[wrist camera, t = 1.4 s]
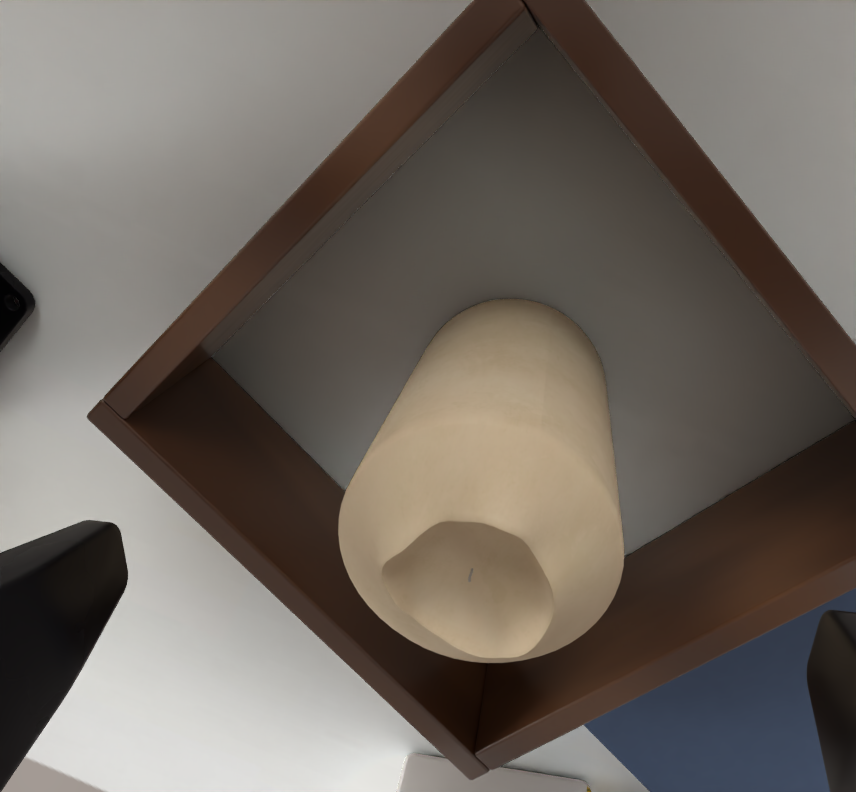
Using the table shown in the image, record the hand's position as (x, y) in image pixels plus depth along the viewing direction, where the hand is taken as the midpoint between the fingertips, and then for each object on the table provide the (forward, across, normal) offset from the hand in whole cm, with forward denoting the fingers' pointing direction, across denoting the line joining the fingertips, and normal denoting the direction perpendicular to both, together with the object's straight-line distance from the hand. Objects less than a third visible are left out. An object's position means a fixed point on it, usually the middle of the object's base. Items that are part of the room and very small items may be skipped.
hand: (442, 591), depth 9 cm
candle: (+13, 0, +2) cm, 13 cm away
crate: (+13, 0, +2) cm, 13 cm away
